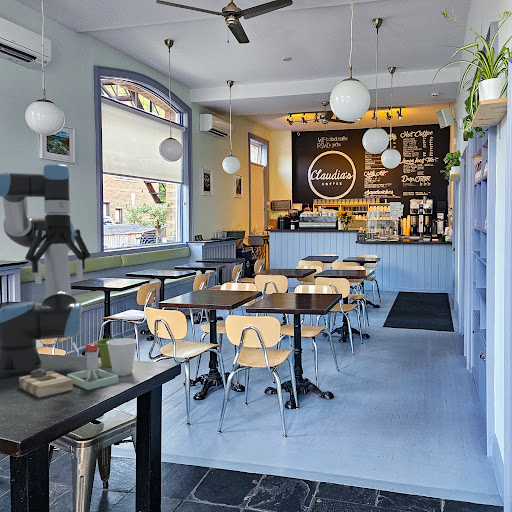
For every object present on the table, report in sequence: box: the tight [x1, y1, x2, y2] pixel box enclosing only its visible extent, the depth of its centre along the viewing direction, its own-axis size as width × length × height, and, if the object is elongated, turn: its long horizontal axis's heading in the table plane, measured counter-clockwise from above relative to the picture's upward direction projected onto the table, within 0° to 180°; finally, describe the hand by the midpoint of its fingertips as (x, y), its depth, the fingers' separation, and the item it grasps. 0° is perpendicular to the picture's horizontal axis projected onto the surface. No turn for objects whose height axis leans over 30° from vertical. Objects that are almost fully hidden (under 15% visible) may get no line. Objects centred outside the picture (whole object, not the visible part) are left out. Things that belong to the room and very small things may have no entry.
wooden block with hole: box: [18, 369, 74, 398], centre depth 162 cm, size 14×10×6 cm
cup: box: [106, 337, 138, 377], centre depth 180 cm, size 10×10×11 cm
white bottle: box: [84, 342, 100, 382], centre depth 168 cm, size 4×4×12 cm
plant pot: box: [95, 337, 117, 368], centre depth 191 cm, size 9×9×9 cm
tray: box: [66, 368, 119, 391], centre depth 168 cm, size 13×10×3 cm
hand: (59, 281), depth 172 cm, fingers open, 13 cm apart
